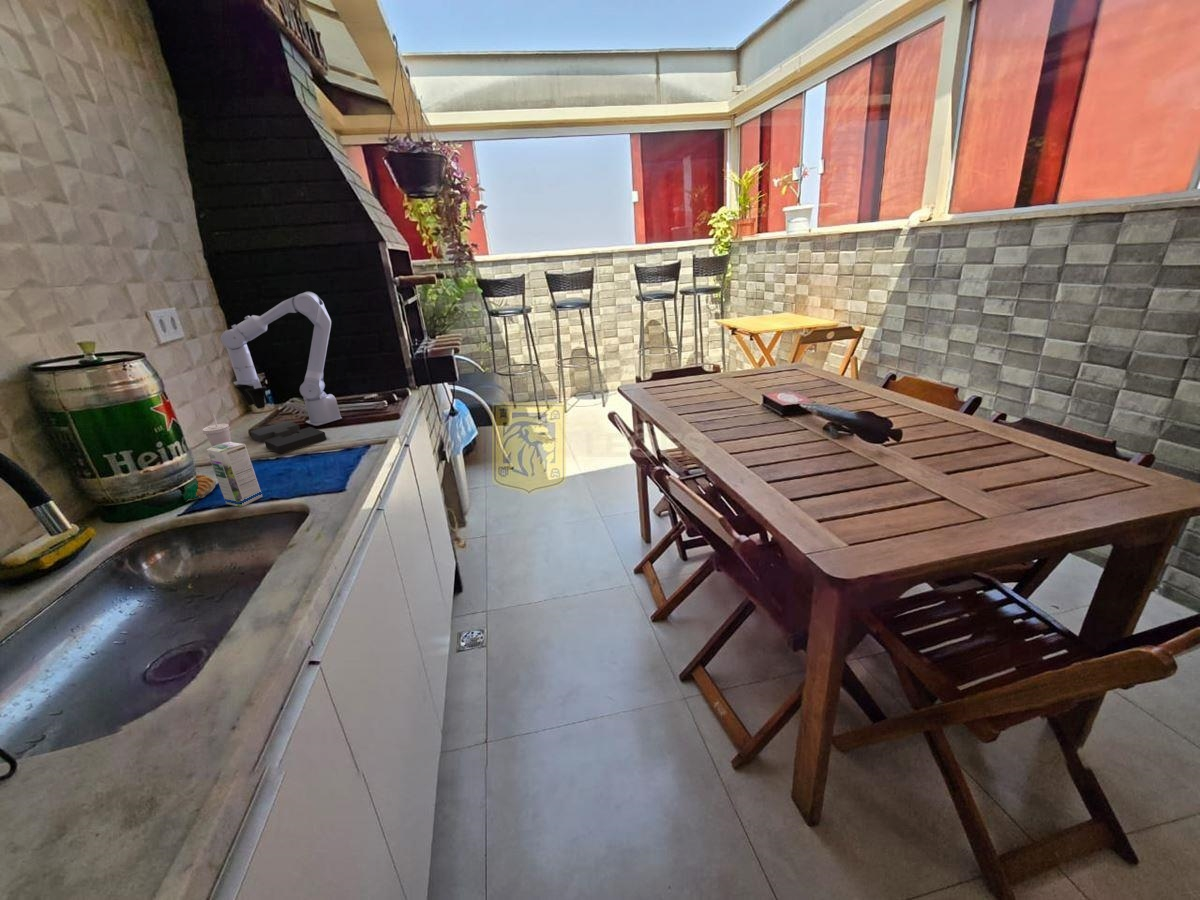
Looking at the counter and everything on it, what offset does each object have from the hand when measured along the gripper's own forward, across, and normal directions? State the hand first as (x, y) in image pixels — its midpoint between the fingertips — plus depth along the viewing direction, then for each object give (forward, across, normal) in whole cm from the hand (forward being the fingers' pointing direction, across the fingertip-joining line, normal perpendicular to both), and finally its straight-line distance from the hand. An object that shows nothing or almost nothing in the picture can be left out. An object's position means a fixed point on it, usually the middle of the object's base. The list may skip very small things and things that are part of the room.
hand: (256, 406), depth 165 cm
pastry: (+9, +40, -30) cm, 51 cm away
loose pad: (+8, +11, 0) cm, 14 cm away
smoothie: (+9, +18, -17) cm, 26 cm away
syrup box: (+9, +55, -25) cm, 61 cm away
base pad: (+8, +25, 0) cm, 26 cm away
